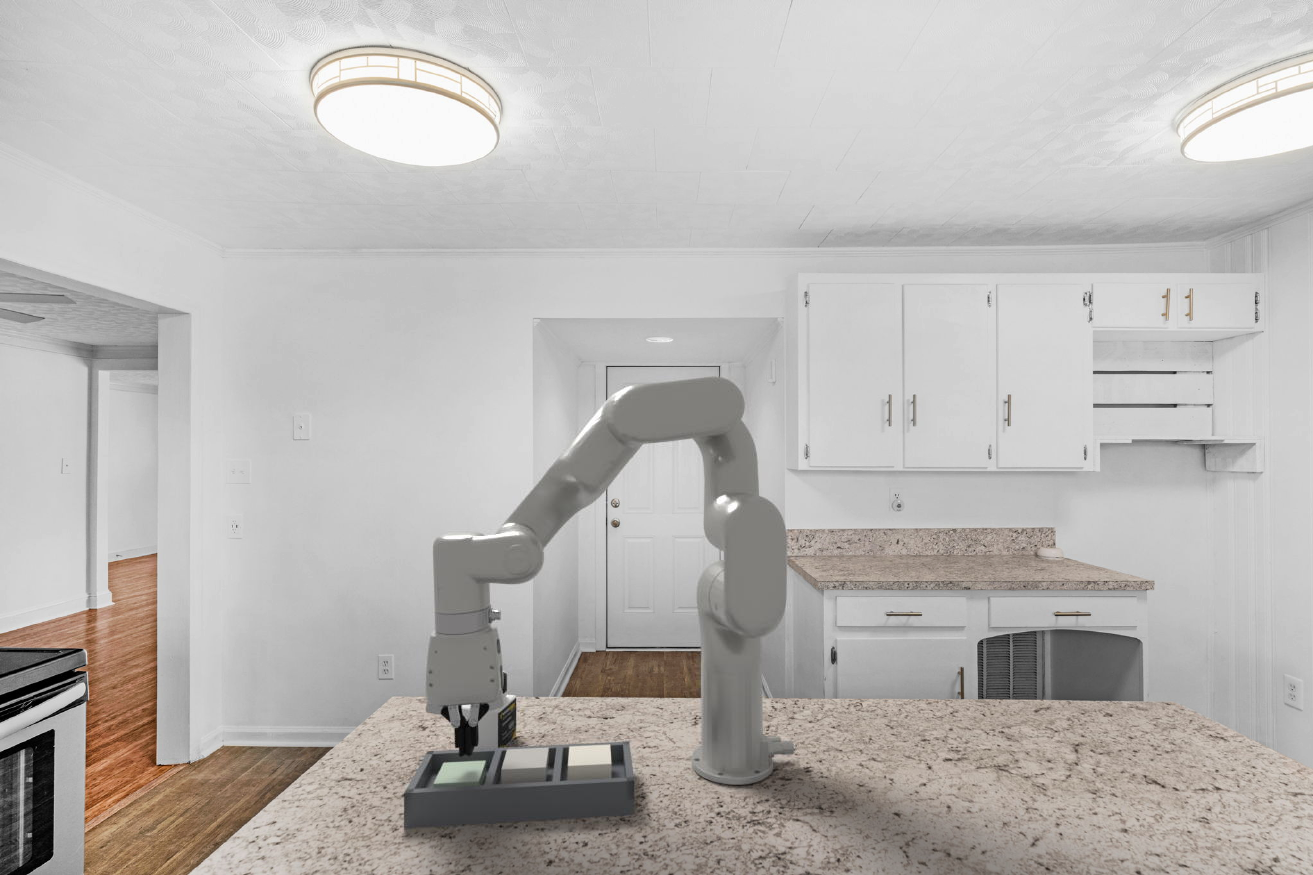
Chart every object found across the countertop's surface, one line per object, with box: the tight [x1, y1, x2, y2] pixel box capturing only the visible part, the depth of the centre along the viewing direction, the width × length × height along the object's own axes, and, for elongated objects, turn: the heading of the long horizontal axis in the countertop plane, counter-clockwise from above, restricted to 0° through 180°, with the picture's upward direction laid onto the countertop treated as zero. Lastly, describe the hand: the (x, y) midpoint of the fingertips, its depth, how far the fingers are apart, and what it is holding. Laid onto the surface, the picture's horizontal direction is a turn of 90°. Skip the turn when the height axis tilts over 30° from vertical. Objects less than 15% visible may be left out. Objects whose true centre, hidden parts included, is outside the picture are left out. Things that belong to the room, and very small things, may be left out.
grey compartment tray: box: [403, 741, 636, 829], centre depth 91 cm, size 30×12×4 cm, turn 96°
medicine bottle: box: [462, 670, 517, 749], centre depth 108 cm, size 7×7×12 cm
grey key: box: [501, 748, 549, 784], centre depth 91 cm, size 6×6×2 cm
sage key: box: [433, 761, 486, 788], centre depth 90 cm, size 6×6×2 cm
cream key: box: [568, 745, 611, 781], centre depth 92 cm, size 6×6×2 cm
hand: (467, 751), depth 91 cm, fingers closed
